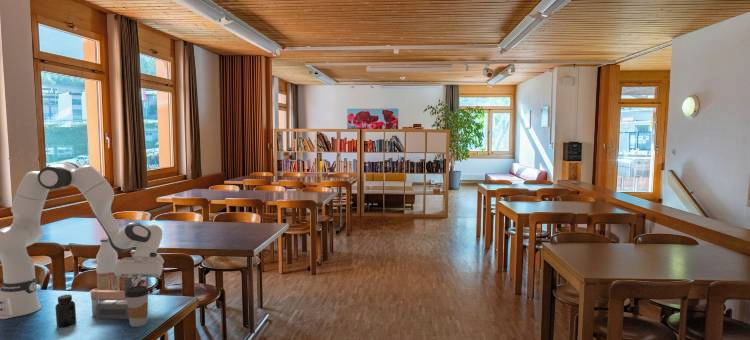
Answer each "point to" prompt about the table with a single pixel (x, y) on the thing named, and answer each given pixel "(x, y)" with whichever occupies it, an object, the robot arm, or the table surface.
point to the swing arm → (112, 292)
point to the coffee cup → (137, 305)
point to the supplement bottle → (65, 311)
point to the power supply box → (110, 309)
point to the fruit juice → (106, 267)
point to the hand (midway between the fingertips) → (132, 285)
